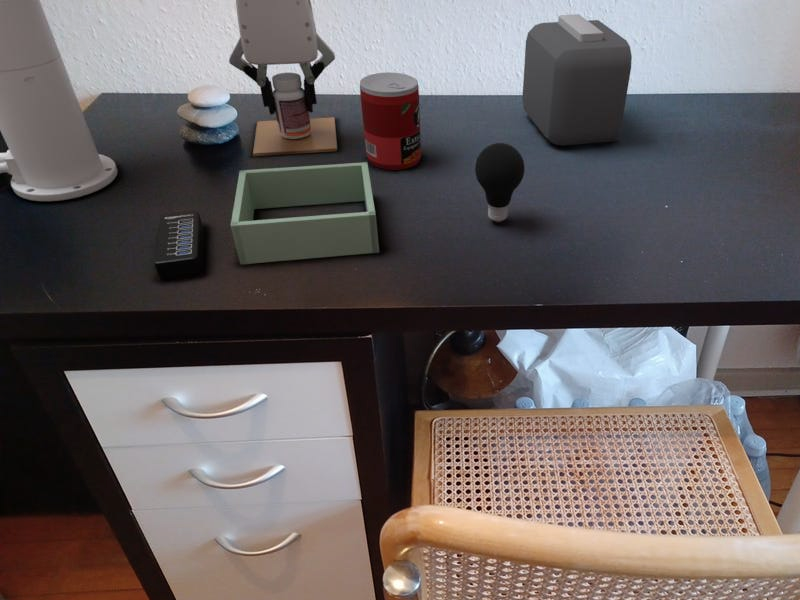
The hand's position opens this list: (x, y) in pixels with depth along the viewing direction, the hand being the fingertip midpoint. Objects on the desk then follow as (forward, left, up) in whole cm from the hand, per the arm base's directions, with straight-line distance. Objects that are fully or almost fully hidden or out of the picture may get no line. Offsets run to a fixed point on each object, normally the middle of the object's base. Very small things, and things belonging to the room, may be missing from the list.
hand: (291, 108), depth 98 cm
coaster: (0, 0, -4) cm, 4 cm away
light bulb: (+25, -30, -5) cm, 39 cm away
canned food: (+14, -10, -5) cm, 18 cm away
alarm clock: (+42, -3, -5) cm, 42 cm away
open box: (+2, -28, -4) cm, 28 cm away
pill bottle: (0, 0, -4) cm, 4 cm away
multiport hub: (-13, -31, -5) cm, 34 cm away
